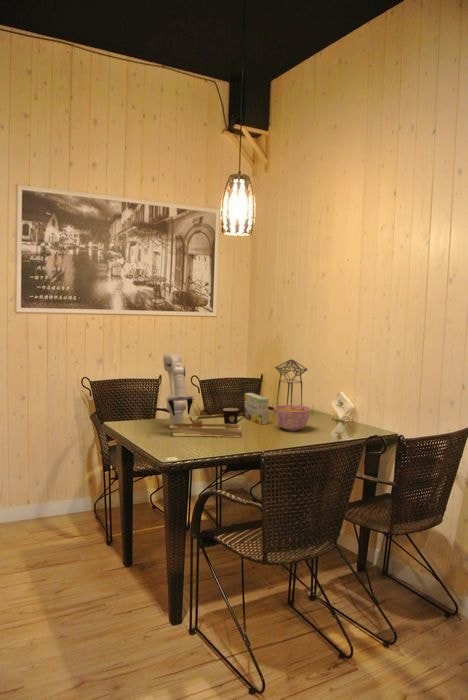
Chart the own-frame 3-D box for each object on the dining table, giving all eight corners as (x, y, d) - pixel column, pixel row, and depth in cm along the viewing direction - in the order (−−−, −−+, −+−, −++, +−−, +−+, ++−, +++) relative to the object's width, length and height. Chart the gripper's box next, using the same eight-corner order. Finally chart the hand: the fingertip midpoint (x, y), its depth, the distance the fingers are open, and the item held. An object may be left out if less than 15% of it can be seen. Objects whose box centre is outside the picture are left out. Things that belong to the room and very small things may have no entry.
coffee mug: (221, 428, 303) (221, 410, 302) (225, 425, 311) (225, 407, 310) (241, 429, 300) (241, 411, 299) (245, 426, 308) (245, 408, 307)
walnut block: (192, 427, 291) (192, 419, 291) (202, 427, 291) (202, 420, 291) (191, 429, 286) (192, 422, 286) (201, 429, 286) (201, 422, 286)
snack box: (243, 418, 331) (244, 393, 330) (252, 417, 334) (252, 392, 333) (260, 425, 312) (260, 398, 311) (268, 424, 315) (269, 398, 313)
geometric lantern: (288, 412, 348) (291, 357, 345) (307, 417, 336) (309, 360, 333) (270, 415, 338) (272, 358, 335) (288, 420, 326) (291, 361, 323)
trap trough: (174, 431, 294) (174, 423, 294) (241, 432, 294) (241, 424, 293) (171, 436, 283) (171, 427, 283) (241, 437, 283) (241, 428, 282)
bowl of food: (267, 430, 299) (267, 409, 298) (281, 423, 316) (282, 403, 315) (302, 435, 289) (302, 413, 288) (315, 427, 307) (315, 407, 306)
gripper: (164, 388, 285) (166, 414, 281) (192, 385, 285) (194, 411, 281) (166, 391, 292) (168, 416, 288) (194, 388, 292) (195, 414, 288)
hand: (181, 414), depth 285 cm, fingers open, 7 cm apart
